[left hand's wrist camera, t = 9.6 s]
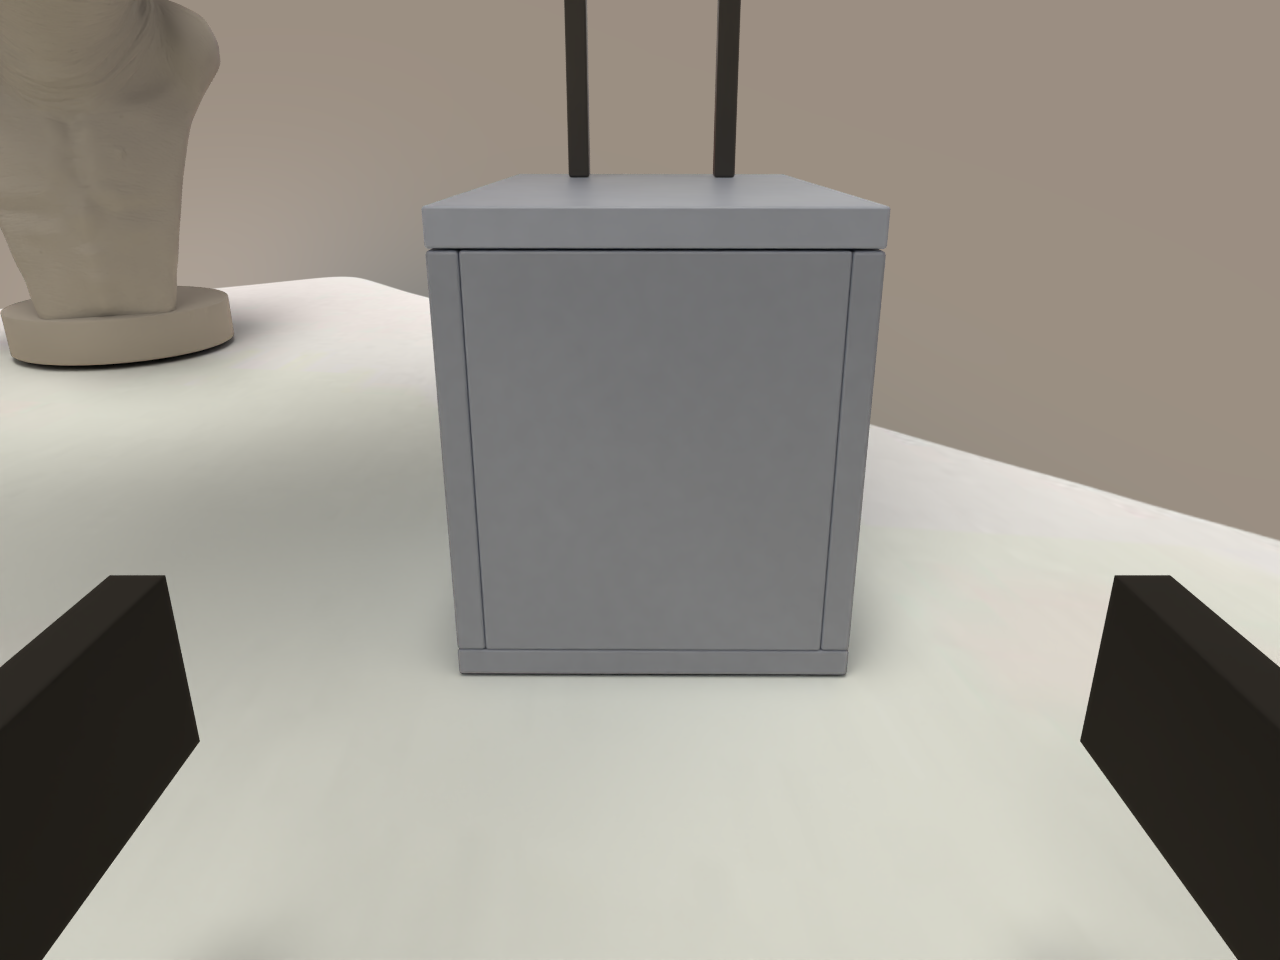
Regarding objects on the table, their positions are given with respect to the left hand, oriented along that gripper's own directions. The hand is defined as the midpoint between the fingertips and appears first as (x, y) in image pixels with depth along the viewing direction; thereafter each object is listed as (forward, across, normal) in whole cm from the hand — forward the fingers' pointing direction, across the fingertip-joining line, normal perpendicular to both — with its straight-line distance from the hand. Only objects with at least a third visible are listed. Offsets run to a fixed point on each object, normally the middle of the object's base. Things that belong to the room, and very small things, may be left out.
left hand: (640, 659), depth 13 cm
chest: (+16, 0, -6) cm, 18 cm away
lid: (+17, 0, +5) cm, 17 cm away
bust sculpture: (+44, -30, -6) cm, 54 cm away
